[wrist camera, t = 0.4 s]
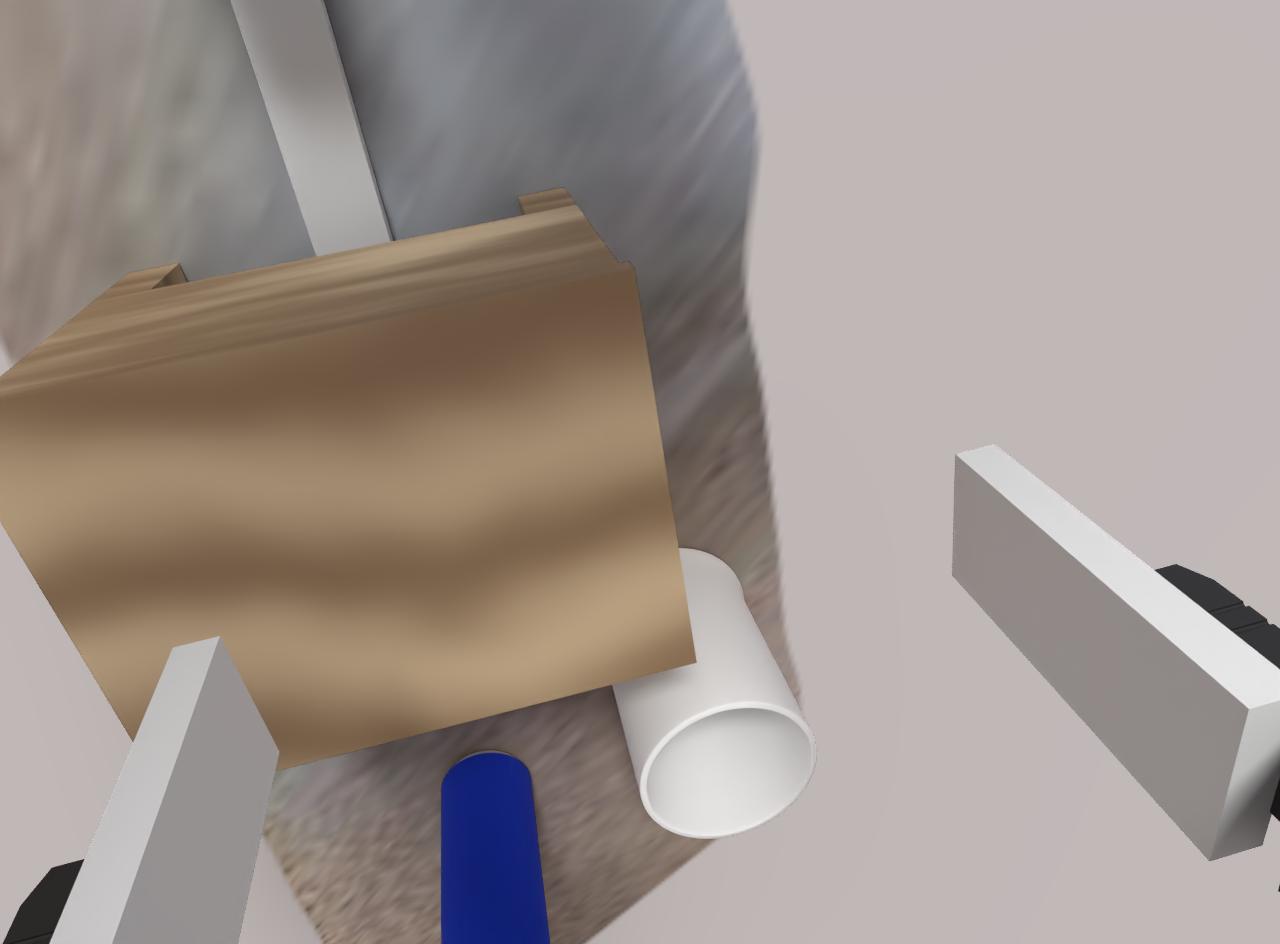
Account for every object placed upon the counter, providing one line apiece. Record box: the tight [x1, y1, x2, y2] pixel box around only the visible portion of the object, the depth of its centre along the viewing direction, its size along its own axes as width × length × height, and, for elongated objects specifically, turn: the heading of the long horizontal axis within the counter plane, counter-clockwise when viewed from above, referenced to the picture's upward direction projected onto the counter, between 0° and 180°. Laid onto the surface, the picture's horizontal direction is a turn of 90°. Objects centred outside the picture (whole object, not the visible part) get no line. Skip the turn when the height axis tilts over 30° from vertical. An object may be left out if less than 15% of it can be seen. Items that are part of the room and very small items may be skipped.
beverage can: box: [441, 750, 550, 944], centre depth 45 cm, size 5×5×15 cm
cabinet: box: [0, 187, 697, 772], centre depth 33 cm, size 14×18×15 cm
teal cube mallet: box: [230, 0, 393, 257], centre depth 28 cm, size 26×4×12 cm, turn 9°
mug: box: [612, 548, 817, 839], centre depth 44 cm, size 12×8×12 cm
